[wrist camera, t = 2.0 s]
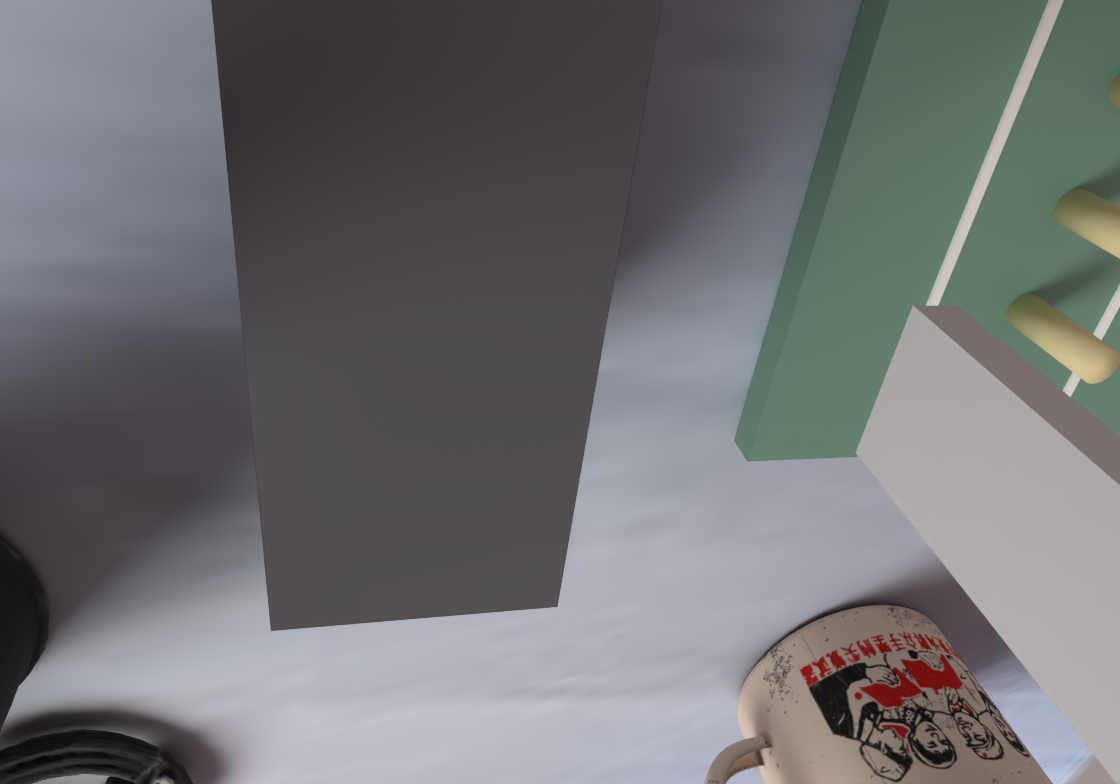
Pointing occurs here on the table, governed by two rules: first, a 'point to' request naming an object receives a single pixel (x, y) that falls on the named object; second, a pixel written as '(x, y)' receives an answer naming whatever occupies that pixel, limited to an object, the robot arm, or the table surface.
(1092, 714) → the robot arm
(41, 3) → the table surface
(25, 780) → the milk frother
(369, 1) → the block
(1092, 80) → the pin board
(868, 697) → the teacup with lid
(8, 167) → the table surface
